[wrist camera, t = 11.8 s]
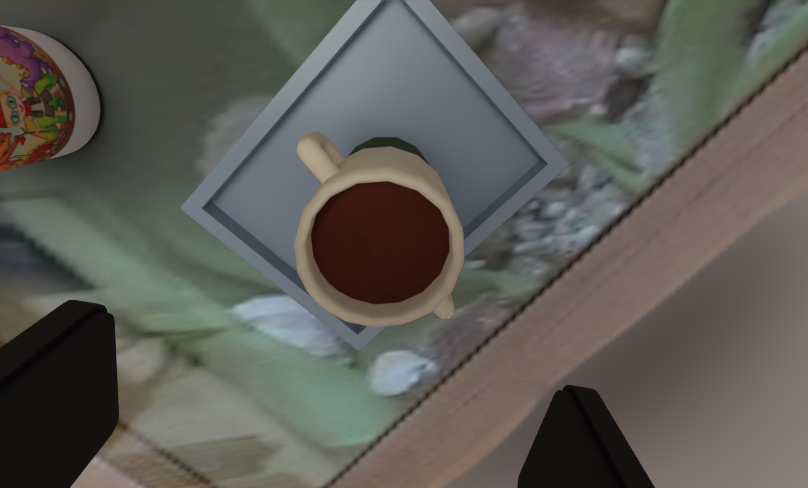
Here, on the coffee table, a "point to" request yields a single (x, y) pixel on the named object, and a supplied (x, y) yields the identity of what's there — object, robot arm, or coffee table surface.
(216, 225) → the tray
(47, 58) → the milk bottle
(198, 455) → the coffee table surface
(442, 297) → the character mug
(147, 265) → the coffee table surface
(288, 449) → the coffee table surface
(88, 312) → the robot arm
